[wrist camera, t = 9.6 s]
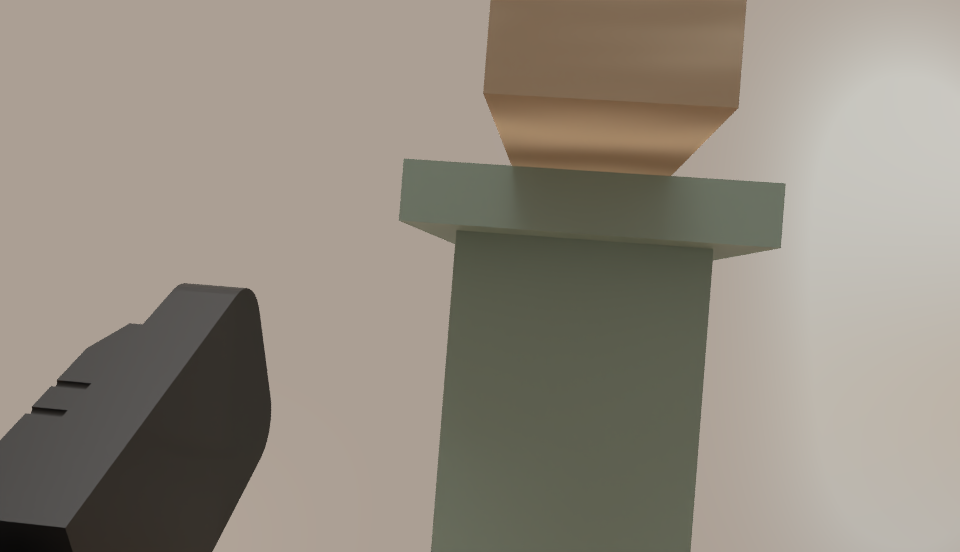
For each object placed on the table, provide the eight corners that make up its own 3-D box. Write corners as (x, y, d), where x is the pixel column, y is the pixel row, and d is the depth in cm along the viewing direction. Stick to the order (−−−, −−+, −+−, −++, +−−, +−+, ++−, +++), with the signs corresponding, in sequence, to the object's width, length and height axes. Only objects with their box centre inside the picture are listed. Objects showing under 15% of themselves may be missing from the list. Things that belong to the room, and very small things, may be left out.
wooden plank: (531, 214, 45) (534, 168, 45) (625, 221, 44) (629, 174, 44) (482, 93, 17) (492, -32, 17) (738, 107, 16) (748, -21, 16)
